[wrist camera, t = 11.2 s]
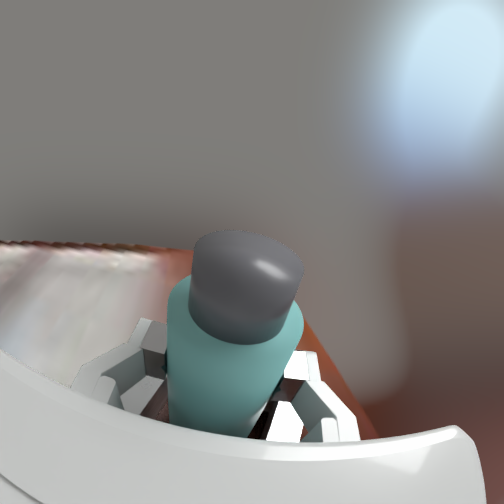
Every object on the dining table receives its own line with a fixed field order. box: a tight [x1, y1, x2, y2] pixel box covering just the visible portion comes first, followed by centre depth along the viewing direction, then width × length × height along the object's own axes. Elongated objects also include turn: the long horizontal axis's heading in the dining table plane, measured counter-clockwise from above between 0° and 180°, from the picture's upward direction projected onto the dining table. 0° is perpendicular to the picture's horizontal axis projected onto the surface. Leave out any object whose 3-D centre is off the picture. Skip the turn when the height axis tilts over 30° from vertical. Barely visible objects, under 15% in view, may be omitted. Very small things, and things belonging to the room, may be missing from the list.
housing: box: [120, 375, 303, 442], centre depth 13 cm, size 10×10×3 cm
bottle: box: [167, 230, 304, 438], centre depth 10 cm, size 4×4×11 cm
